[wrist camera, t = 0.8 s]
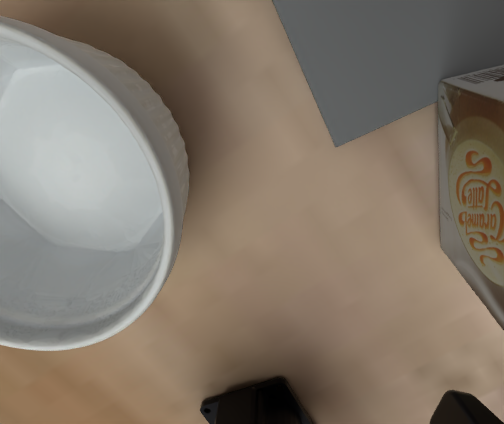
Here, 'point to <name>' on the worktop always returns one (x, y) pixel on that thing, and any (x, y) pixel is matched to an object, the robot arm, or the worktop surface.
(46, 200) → the ramekin
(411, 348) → the worktop surface
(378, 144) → the worktop surface
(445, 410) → the robot arm
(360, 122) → the mat
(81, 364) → the worktop surface
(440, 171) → the coffee box
